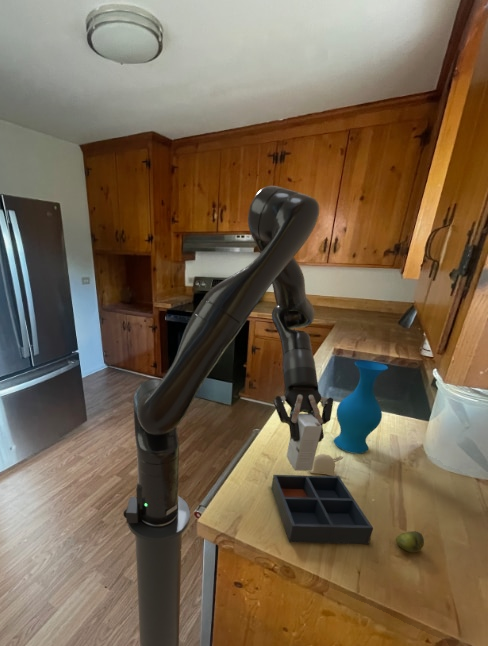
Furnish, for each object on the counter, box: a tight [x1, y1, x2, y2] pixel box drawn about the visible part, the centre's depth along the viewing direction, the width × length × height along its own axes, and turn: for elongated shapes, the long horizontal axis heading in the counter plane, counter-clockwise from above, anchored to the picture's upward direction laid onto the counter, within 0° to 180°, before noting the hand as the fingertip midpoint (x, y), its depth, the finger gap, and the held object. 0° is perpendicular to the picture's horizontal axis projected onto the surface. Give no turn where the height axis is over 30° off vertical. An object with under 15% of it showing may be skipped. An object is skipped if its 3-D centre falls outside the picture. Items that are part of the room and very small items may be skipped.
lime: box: [395, 530, 425, 553], centre depth 69 cm, size 4×5×5 cm
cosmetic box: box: [286, 412, 323, 472], centre depth 76 cm, size 6×4×12 cm
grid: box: [270, 474, 374, 545], centre depth 78 cm, size 17×17×5 cm
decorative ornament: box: [309, 453, 344, 476], centre depth 93 cm, size 4×8×5 cm, turn 76°
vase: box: [333, 359, 389, 454], centre depth 102 cm, size 12×13×28 cm
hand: (307, 440), depth 74 cm, fingers closed on cosmetic box, 4 cm apart
